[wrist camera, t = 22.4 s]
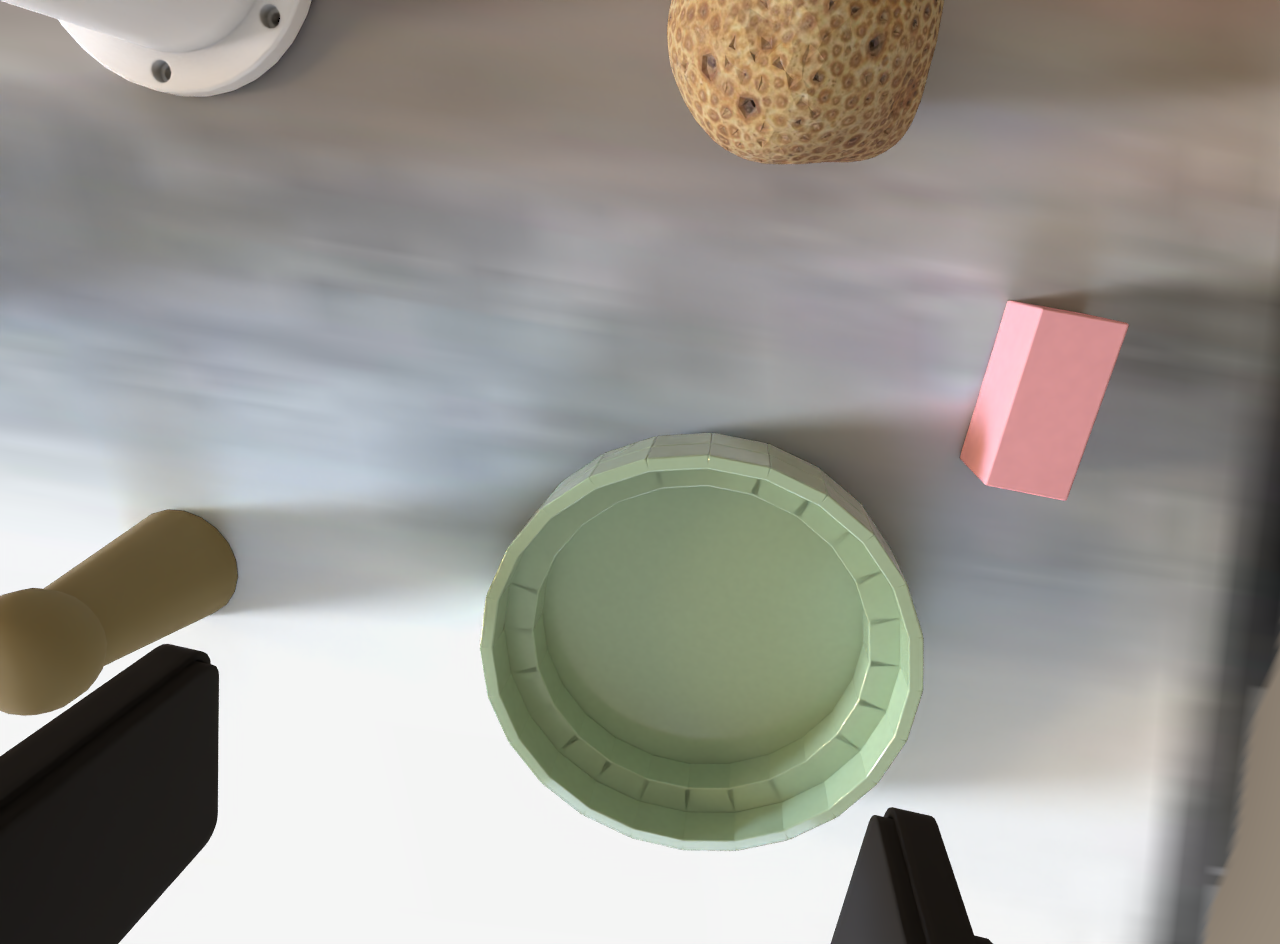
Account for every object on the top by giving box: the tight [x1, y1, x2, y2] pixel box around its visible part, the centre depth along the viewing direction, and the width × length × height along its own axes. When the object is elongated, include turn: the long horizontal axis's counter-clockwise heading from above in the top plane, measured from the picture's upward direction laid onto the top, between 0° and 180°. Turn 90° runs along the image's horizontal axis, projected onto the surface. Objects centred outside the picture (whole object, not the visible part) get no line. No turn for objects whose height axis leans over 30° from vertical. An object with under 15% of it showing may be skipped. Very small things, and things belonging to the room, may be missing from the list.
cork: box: [0, 510, 238, 715], centre depth 36 cm, size 6×6×11 cm
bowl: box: [480, 433, 924, 851], centre depth 37 cm, size 19×19×4 cm
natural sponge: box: [667, 0, 944, 164], centre depth 27 cm, size 9×9×10 cm
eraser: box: [960, 300, 1129, 501], centre depth 32 cm, size 7×3×4 cm, turn 170°
